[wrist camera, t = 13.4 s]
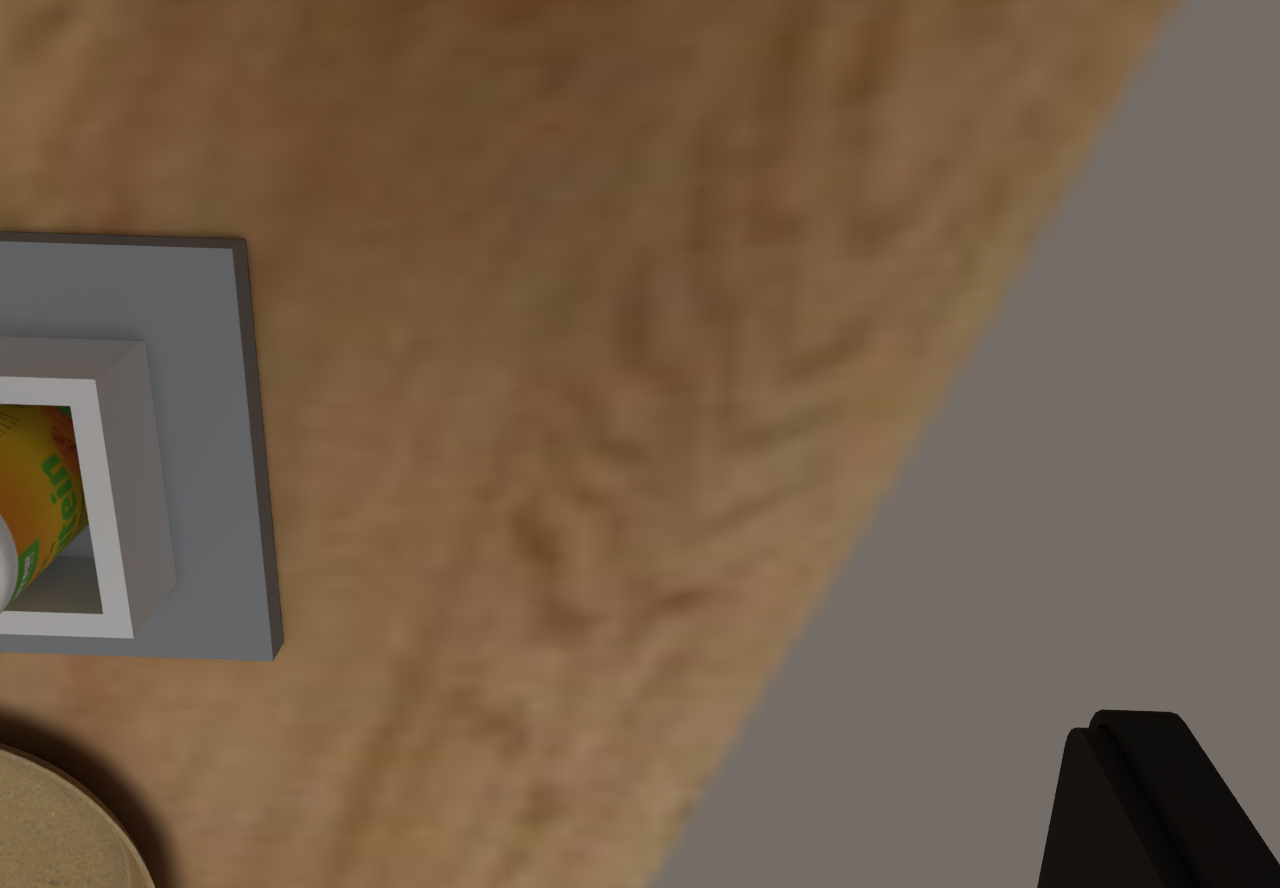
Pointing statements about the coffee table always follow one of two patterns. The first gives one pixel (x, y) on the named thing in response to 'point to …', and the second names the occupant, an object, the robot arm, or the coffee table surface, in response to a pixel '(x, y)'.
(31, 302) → the bottle holder
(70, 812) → the plant saucer
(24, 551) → the supplement bottle
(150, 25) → the coffee table surface
